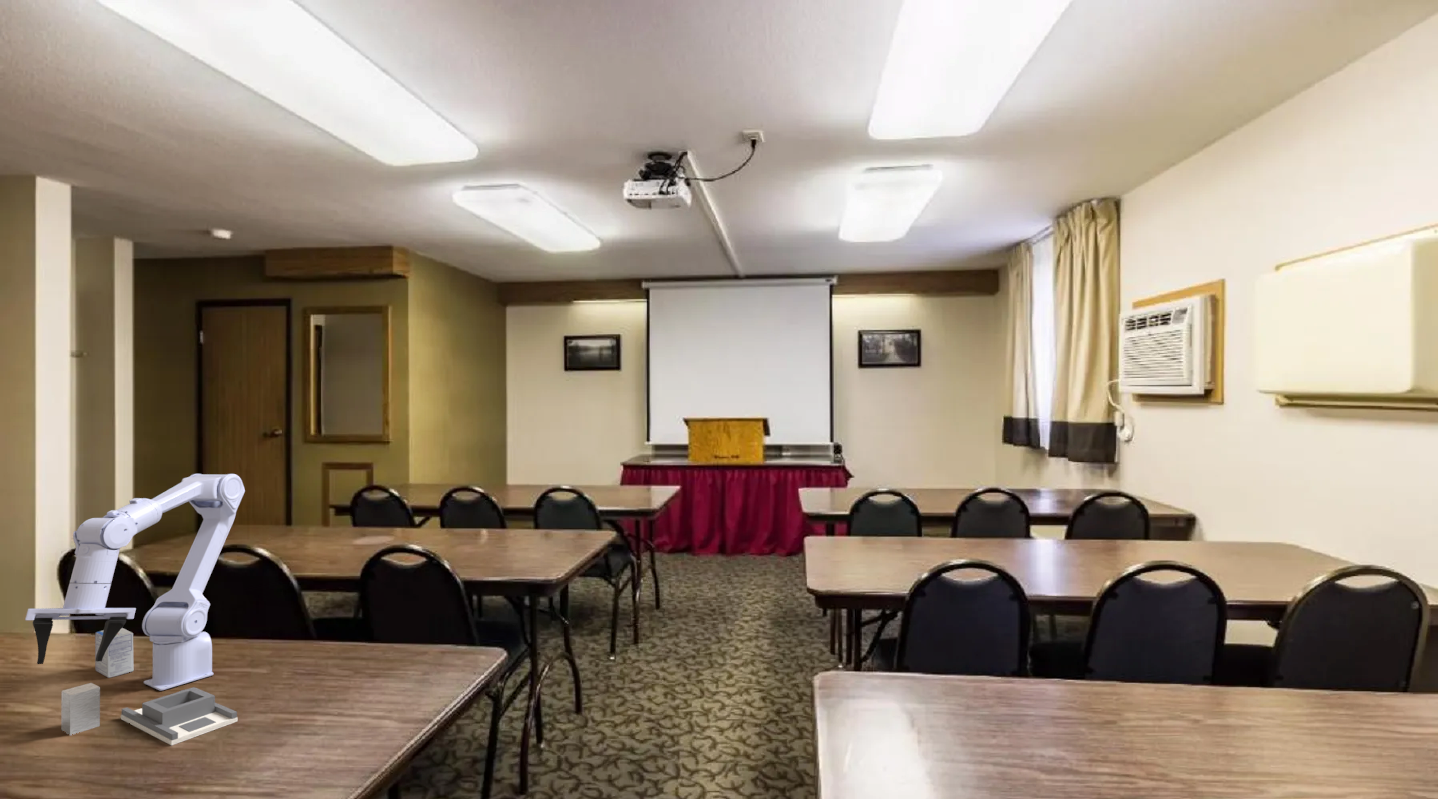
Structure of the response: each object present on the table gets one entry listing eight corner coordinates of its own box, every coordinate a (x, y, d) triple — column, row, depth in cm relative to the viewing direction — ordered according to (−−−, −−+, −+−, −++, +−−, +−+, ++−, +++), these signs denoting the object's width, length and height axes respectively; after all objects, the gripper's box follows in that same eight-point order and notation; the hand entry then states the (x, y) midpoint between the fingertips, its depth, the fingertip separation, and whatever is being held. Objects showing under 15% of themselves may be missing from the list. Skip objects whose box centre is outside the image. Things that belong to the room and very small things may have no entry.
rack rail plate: (185, 698, 132) (185, 679, 132) (237, 721, 122) (237, 700, 122) (120, 719, 123) (120, 698, 123) (171, 745, 114) (171, 722, 114)
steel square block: (90, 721, 123) (90, 682, 123) (99, 726, 121) (100, 687, 121) (61, 730, 119) (61, 690, 119) (70, 735, 117) (70, 695, 117)
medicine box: (134, 672, 146) (134, 632, 146) (107, 679, 142) (107, 638, 142) (120, 664, 150) (121, 625, 150) (94, 671, 146) (94, 631, 146)
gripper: (36, 582, 116) (12, 667, 112) (144, 584, 126) (125, 661, 122) (34, 582, 121) (11, 663, 117) (138, 584, 131) (120, 658, 127)
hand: (69, 662), depth 120 cm, fingers open, 7 cm apart
